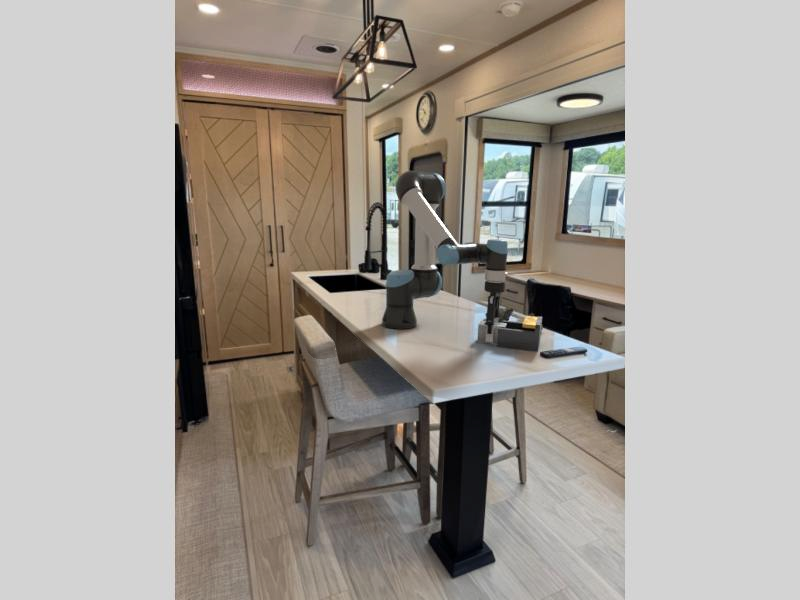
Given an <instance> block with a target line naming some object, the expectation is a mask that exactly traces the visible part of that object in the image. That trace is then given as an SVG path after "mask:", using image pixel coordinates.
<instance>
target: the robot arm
mask: <svg viewBox="0 0 800 600" xmlns="http://www.w3.org/2000/svg"><path fill="white" fill-rule="evenodd" d="M446 187H447V186H446V182H445V179H444V178H443V177H442V176H441V175H440V174H439V173H437V172H436V173H435V172H431V171H418V170H417V171H416V170H408V171H405V172H404V173H402V174H401V175H400V176H399V177H398V178H397V180H396V183H395V194H396V197H397V199H398V200H399V202H400V203H401V205H402V206H403V207H405V208H407V209H408V210H409V212H410V213H411V214H412V216H413V218H415V227H414V231H415V234H414V264H413V265H412V266H411V268H410V269H398V270H392V271H391V272H389V273H387V276H386V282H385V286H386V288H385V289H386V292H385V293H386V294H385V295H386V299H385V300H386V301H385V310H384V314H383V317H382V319H381V325H382V326H383V327H384V326H385V327H384V328H387V327H389V328H388V329H392V328H396V329H395V330H407V329H406V328H409V329H413V328H416V325H418V319H417V317H416V313H415V309H414V300H416V299H425V298H427V299H428V298H430V297H433V296H436V295H438V294H439V292H440V291H441V289H442V286H443V278H442V276H441V274H440V272H439V271H438V267H437V266H436V265H435V255H436V257H437V258H436V260H437V262H438V263H439V264H441V265H443V266H455V265H465V264H467V265H468V264H474V263H475V264H484V265H485V270H484V280H485V281H484V291H485V292H487V293H490V294H489V295H488V296H487V307H486V313H487V316H486V315H485V321H486V323H484V325H486V342H493V335H494V322H498V318H500V317H501V315H499V314H500V313H499V308H500V303H501V302H500V301H501V300H500V299H501V296H500V295H501V294H502V293H504V292H505V291H506V282H505V281H506V278H507V277H506V276H508V272H507V262H508V261H507V260H508V253H509V252H508V241H507V240H506V239H498V238H495V239H494V238H493V239H488V240H486V241H487V242H486V243H480V242H479V243H478V242H465V243H458V242H457V240H456V239H455V238H454V236H453V235H452V234H451V232H450V231H449V229H448V228H447V227H446V225H445V224H444V223H443V221H442V220H441V218H440V217H439V216H438V215H437V213H436V211H437V210H436V209H437V208H438V207H440V201H441V200H442V199H443V198H444V196H445V195H446V192H447V191H446V189H447V188H446ZM435 248H436V254H435ZM412 327H413V328H412Z"/></svg>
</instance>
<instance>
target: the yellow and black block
mask: <svg viewBox="0 0 800 600" xmlns="http://www.w3.org/2000/svg"><path fill="white" fill-rule="evenodd" d="M528 316H532V317H536V316H535V313H533V312H530V314H528ZM524 319H525V318H523V319H518V320H517V321H515V322H524ZM543 328H544V327H543V324H542V325H541V332H542V331H543Z"/></svg>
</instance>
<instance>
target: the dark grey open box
mask: <svg viewBox="0 0 800 600" xmlns="http://www.w3.org/2000/svg"><path fill="white" fill-rule="evenodd" d="M523 319H524V322H516V321H513V320H508V321H507V320H503V321H502V323H507V328H498V335H497V344H496V347H497V348H501V349H511V350H519V351H525V352H528V351H529V352H535V353H538V352H539V348H540V345H541V344H540V343H541V338H542V337H541V336H542V335H541V333H542V331H541V325H542V326H543V324H542V323H543V316H535V317H532V316H529V315H525V318H523Z"/></svg>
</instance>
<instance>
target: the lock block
mask: <svg viewBox="0 0 800 600" xmlns="http://www.w3.org/2000/svg"><path fill="white" fill-rule="evenodd" d="M484 323H486V320H480V321H479V323H478V324H477V326H478V327H477V340H476V341H477V343H483V344H484V343H485V344H491V345H493V344H494V345H497V335H498V328H507V323H498V322H494V335H493V342H486V325H484Z"/></svg>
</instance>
